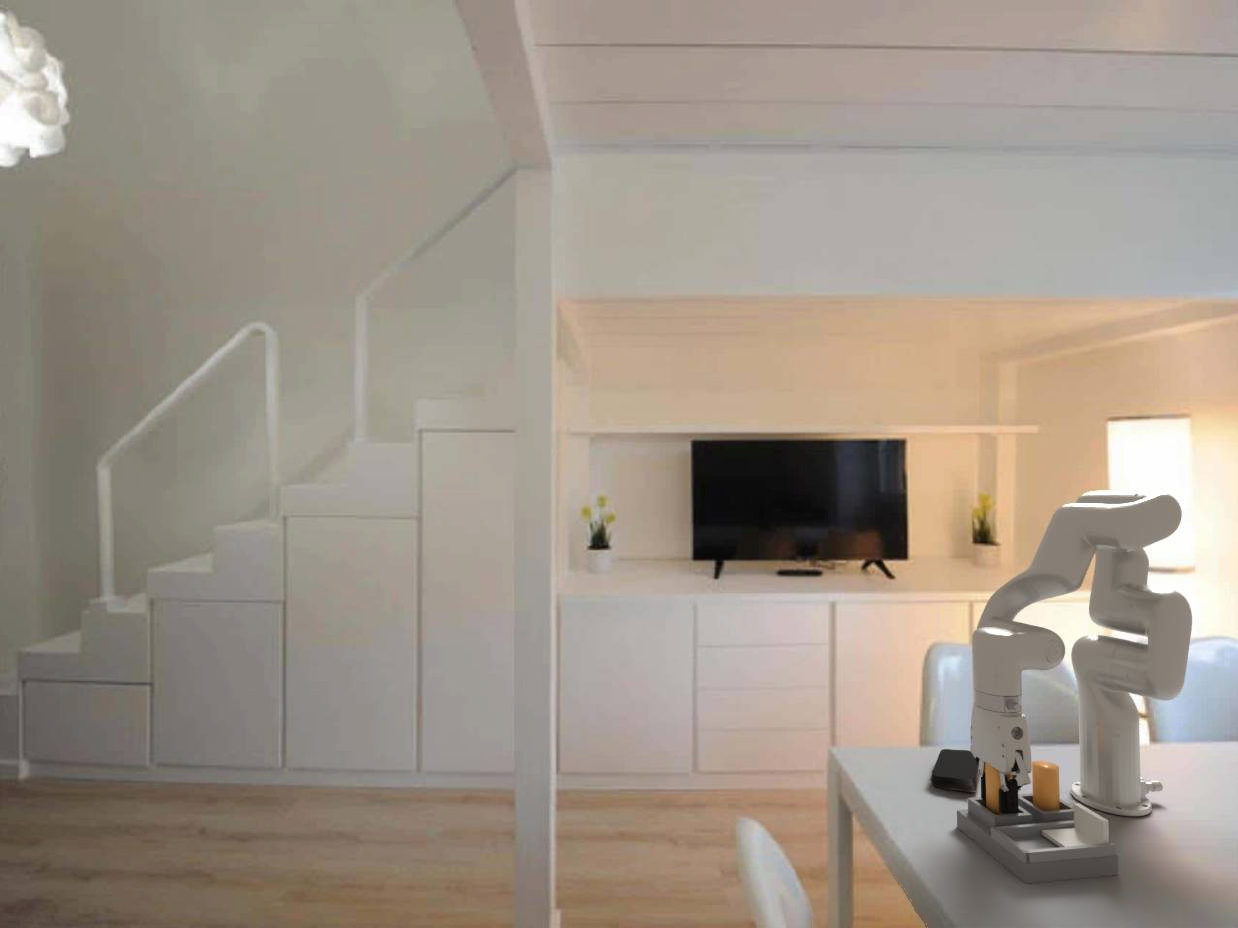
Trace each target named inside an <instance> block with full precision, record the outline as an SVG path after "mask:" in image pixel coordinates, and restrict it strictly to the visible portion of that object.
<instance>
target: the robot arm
mask: <svg viewBox="0 0 1238 928" xmlns="http://www.w3.org/2000/svg"><path fill="white" fill-rule="evenodd" d="M1182 516H1183V515H1182V508H1181V505H1180V503H1179V502H1178V500H1177V499H1176V498H1175V497H1174V496H1172V495H1171V494H1168V493H1166V492H1161V491H1141V490H1140V491H1136V490H1135V491H1132V490H1131V491H1130V490H1129V491H1128V490H1095V491H1089V492H1085V493H1083V494H1081V495H1080V496H1078V497H1077V499H1076V501H1075V502H1074V503H1067V504H1064V505H1061V506H1060V507H1058V508H1057V509H1056V510H1055V511H1054V513H1053V514H1052V516H1051V519H1050V520H1049V522H1048V525H1047V527H1046V529H1045V532H1044V534H1043V535H1042V536H1043V537H1042V538H1041V540H1040V544H1039V545H1038V548H1037V550H1036V552H1035V554H1034V557H1033V560H1032V561H1031V563H1030V565H1029V567H1028V568H1027V569H1025V570H1024V571H1022V572H1021V573H1018V574H1017V575H1015V576H1014V577H1012V578H1011V579H1010V580H1008V581H1007V582H1006V583H1004V584H1003V585H1002V586H1000V587H999V588H998V589H997V590H995V591H994V593H992V595H991V596H990V597H989V599H988V600H987V602H986V604H985V606H984V609H983V610H982V614H981V615H980V617H979V620H978V623H977V625H976V629H974V631H973V633H972V636H971V648H972V649H971V650H972V651H971V653H972V654H971V655H972V658H971V659H972V700H973V701H972V707H971V709H972V710H971V718H970V734H969V735H970V737H969V738H970V746H969V751H971V752H972V754H973V756H974V757H975V759H976V762H977V764H978V767H979V768H978V773H979V775H980V797H981V798H982V799H983V800H984V801H986V772H985V762H986V763H987V762H988V763H989V764H990V765H991V766H992V767H994V768H995V769H997V770H999V773H1000V780H1001V787H1002V789H999V811H1000V812H1001V813H1002V814H1007V813H1017V812H1018V794H1019V792H1020V791H1022V790H1021V789H1022V787H1024V786H1027V785H1030V784H1031V783H1032V781H1031V777H1030V775H1029V774H1031V773H1032V762H1033V761H1032V749H1031V740H1030V732H1029V727H1028V722H1027V718H1026V715H1025V714H1024V713H1023V680H1022V679H1023V678H1022V674H1023V673H1022V672H1023V671H1035V672H1037V671H1039V672H1043V671H1049V670H1053V669H1055V668H1056V667H1057V666H1059V665H1060V664H1062V662H1063V660H1064V659H1065V655H1066V645H1065V642H1064V641H1063V639H1062V637H1061V636H1060V635H1059V634H1058V633H1056V632H1055V631H1053V630H1051V629H1048V628H1047V627H1042V626H1038V625H1033V624H1029V623H1023V622H1020V621H1015V618H1016V616H1017V615H1018V614H1019V613H1020V612H1022V610H1024V609H1025V608H1027V607H1029V606H1030V605H1032V604H1036V603H1038V602H1041V601H1044V600H1049V599H1052V598H1057V597H1060V596H1064V595H1065V596H1066V595H1067V594H1071V593H1074V592H1076V591H1078V590H1079V589H1080V588H1081V587H1082V585H1083V582H1084V580H1085V577H1086V575H1087V573H1088V570H1089V568H1090V565H1091V563H1092V561H1093V558H1094V556H1095V562H1094V568H1093V569H1094V570H1093V576H1092V582H1091V587H1090V588H1091V589H1090V596H1089V604H1088V605H1089V606H1088V614H1089V618H1090V619H1091V621H1092V622H1093V623H1094V624H1096V625H1097V626H1098V627H1101V628H1104V629H1107V630H1112V631H1116V632H1120V633H1126V634H1131V635H1137V636H1142V637H1147V643H1142V642H1139V641H1138V642H1136V641H1133V640H1132V641H1131V640H1128V639H1125V638H1124V639H1123V638H1118V637H1114V636H1110V635H1109V636H1108V635H1102V634H1088V635H1084V636H1081V637H1080V638H1078V639H1077V640H1076V641H1075V642H1074V643H1073V646H1072V648H1071V655H1070V657H1071V665H1072V669H1073V674H1074V677H1075V681H1076V688H1077V695H1078V696H1077V697H1078V698H1077V699H1078V732H1079V733H1078V737H1079V742H1078V743H1079V744H1078V745H1079V780H1078V781H1075V782H1074V783H1072V784H1071V786H1070V792H1071V796H1073V797H1074V798H1075V799H1076V800H1077V801H1079V803H1082V805H1085V806H1086V807H1090V808H1092V809H1095V810H1097V811H1101V812H1105V813H1106V814H1107V813H1109V814H1112V815H1118V816H1125V817H1141V816H1142V817H1143V816H1146V815H1149V814H1150V813H1151V812H1152V810H1153V809H1152V806H1153V805H1152V802H1151V801H1150V800H1149V798H1148V797H1146V795H1148V794H1149V793H1150V792H1151V793H1152V792H1153V793H1154V792H1162V791H1163V789H1164V788H1163V787H1164V786H1163V784H1162V783H1161V781H1159V780H1158V779H1157V780H1147V781H1145V780H1144V778H1143V777H1142V776H1141V747H1140V746H1141V745H1140V743H1141V741H1140V738H1141V737H1140V736H1141V735H1140V725H1141V724H1140V714H1139V709H1138V707H1137V705H1136V703H1135V701H1134V699H1133V698H1132V696H1131V694H1133V695H1135V696H1140V697H1143V698H1147V699H1148V698H1149V699H1152V700H1157V701H1163V702H1164V701H1165V702H1166V701H1172V700H1174V699H1176V698H1177V697H1178V696H1179V695H1180V693H1181V692H1182V689H1183V687H1184V683H1185V679H1186V674H1187V673H1186V672H1187V667H1188V665H1187V664H1188V659H1189V651H1190V645H1191V644H1190V643H1191V636H1192V630H1193V629H1192V628H1193V615H1192V608H1191V606H1190V603H1189V601H1188V599H1187V598H1186V597H1185V596H1184V595H1183V594H1181V593H1180V592H1179V591H1176V590H1174V589H1170V588H1167V587H1160V586H1154V585H1153V586H1152V585H1148V577H1149V566H1150V561H1149V557H1148V555H1147V552H1146V550H1145V549H1144V548H1146V547H1148V546H1150V545H1153V544H1155V543H1157V542H1160V541H1163V540H1164V539H1167V538H1169V537H1170V536H1172V535H1173V534H1174V533H1175V532H1176V531H1177V530H1178V528H1179V526H1180V524H1181V522H1182V521H1181V520H1182ZM1011 768H1012V770H1011ZM1010 775H1012V779H1010V780H1009V781H1008V778H1007V776H1010Z"/></svg>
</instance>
